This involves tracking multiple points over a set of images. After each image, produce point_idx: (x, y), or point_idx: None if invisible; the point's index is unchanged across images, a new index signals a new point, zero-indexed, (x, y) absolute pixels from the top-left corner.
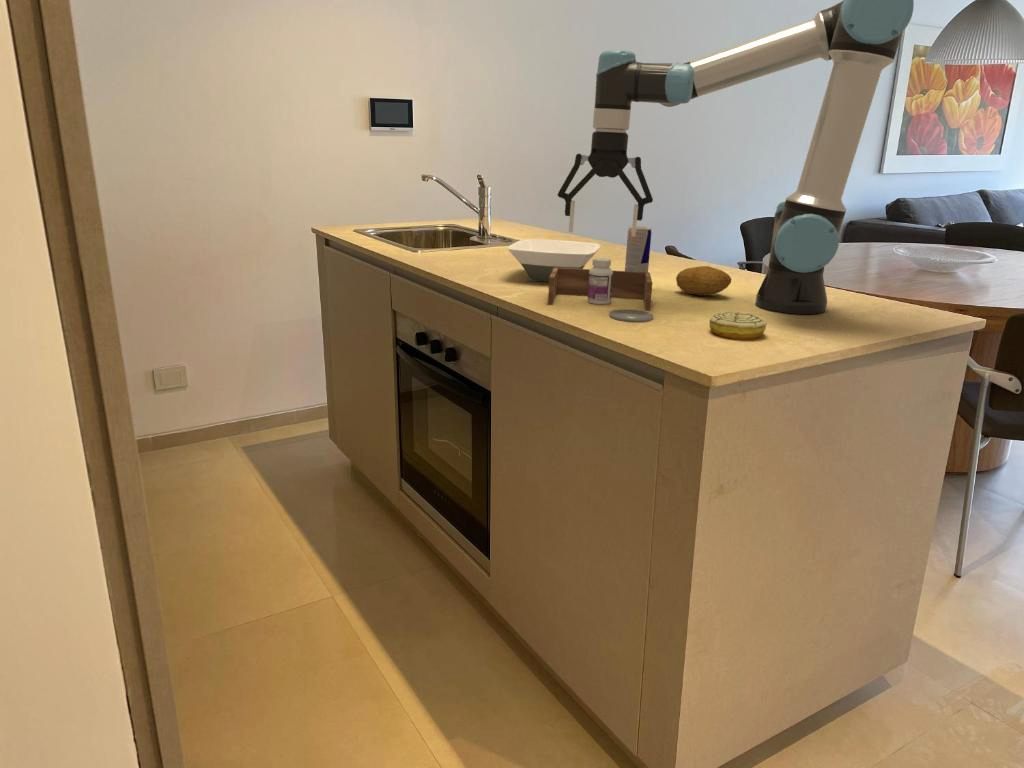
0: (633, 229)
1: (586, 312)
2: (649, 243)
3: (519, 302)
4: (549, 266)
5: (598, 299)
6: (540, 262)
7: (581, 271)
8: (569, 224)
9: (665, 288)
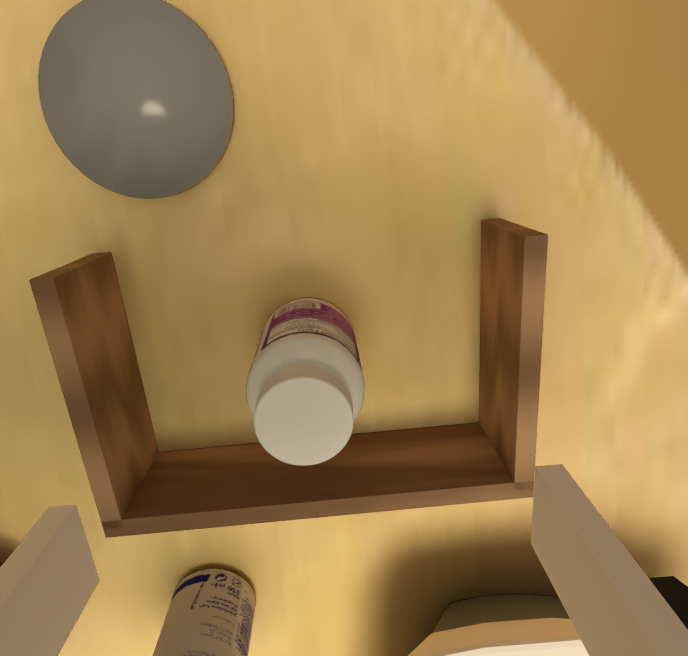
0: (38, 544)
1: (334, 130)
2: None
3: (613, 225)
4: (544, 618)
5: (306, 301)
6: None
7: (406, 486)
8: (589, 504)
9: (117, 637)
